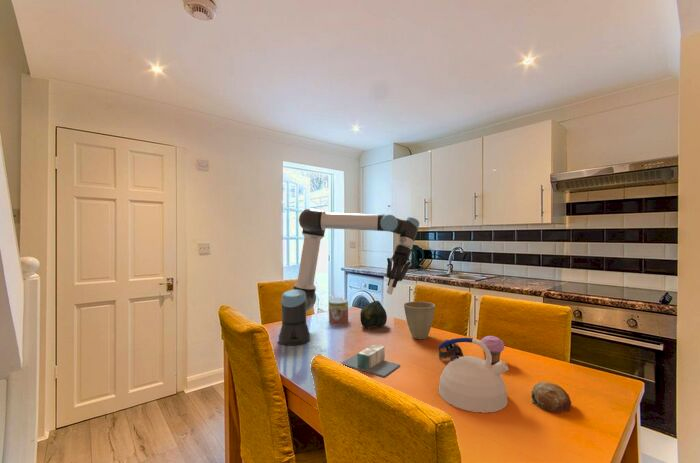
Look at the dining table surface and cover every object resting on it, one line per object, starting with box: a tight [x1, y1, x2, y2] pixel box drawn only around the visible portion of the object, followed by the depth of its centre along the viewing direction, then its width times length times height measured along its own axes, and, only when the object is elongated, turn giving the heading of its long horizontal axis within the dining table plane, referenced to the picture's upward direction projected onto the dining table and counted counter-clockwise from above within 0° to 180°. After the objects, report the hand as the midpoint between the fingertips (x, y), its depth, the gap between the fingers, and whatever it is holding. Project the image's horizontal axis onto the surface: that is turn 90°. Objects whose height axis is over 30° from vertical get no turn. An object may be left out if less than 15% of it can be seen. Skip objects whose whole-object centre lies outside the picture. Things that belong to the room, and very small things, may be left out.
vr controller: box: [437, 339, 464, 360], centre depth 131 cm, size 12×10×8 cm
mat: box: [340, 353, 401, 378], centre depth 125 cm, size 20×12×1 cm, turn 54°
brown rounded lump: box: [530, 381, 572, 414], centre depth 95 cm, size 10×10×8 cm
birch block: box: [356, 344, 386, 370], centre depth 126 cm, size 5×5×12 cm
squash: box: [359, 300, 388, 329], centre depth 175 cm, size 14×15×15 cm
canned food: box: [328, 298, 349, 326], centre depth 186 cm, size 11×11×12 cm
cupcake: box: [479, 335, 505, 364], centre depth 126 cm, size 9×9×10 cm
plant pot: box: [403, 301, 436, 340], centre depth 157 cm, size 15×15×16 cm
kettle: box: [438, 337, 509, 414], centre depth 101 cm, size 20×21×18 cm
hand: (389, 293), depth 149 cm, fingers closed
